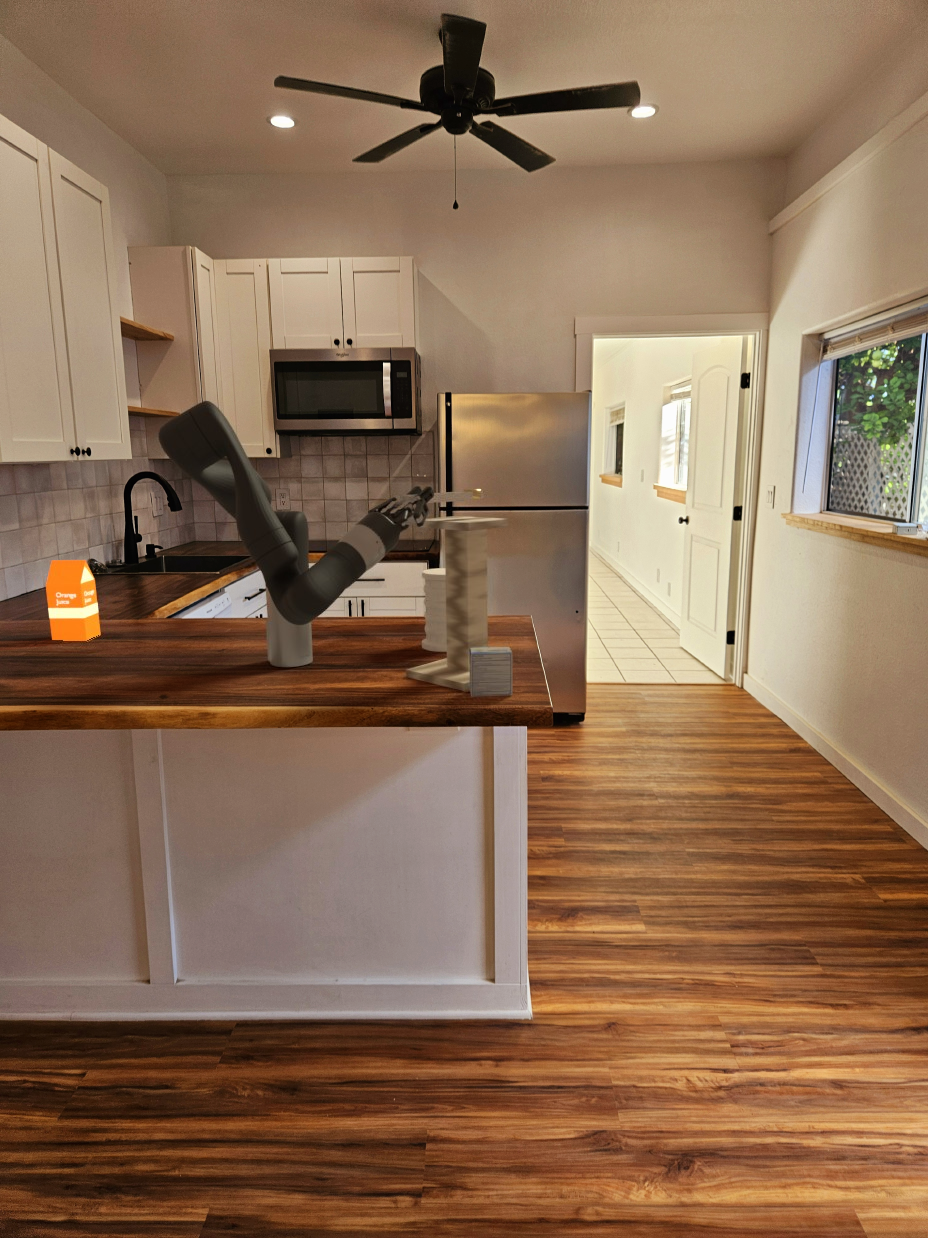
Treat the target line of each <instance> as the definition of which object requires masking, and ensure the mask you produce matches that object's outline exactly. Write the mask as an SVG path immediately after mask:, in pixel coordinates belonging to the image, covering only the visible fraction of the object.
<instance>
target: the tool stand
mask: <svg viewBox="0 0 928 1238" xmlns="http://www.w3.org/2000/svg"><path fill="white" fill-rule="evenodd" d="M509 523H510V519H509V518H503V517H501V518H499V517H480V516H468V515H467V516H465V515H464V516H463V515H462V516H461V515H452V516H451V515H450V516H441V517H432V518H426V520H425V522H424V525H423V526H421V527H418V526H417V524H415V526H416V527H415V528H420V529H436V530H437V529H438V530H444V553H445V554H444V555H445V557H444V559H445V560H444V561H445V565H444V566H445V567H444V568H445V572H446V634H447V652H446V657H445V658H443V659H439V660H436V661H431V662H428V663H425V664H421V665H418V666H413V667H410V668H407V669H405V677H406V678H410V679H414V680H418V681H423V682H426V683H429V684H433V685H434V684H435V685H438V686H442V687H446V688H451V689H454V690H458V691H459V690H460V691H463V692H466V691H469V690H470V668H469V649H470V648H480V647H489V646H488V641H489V640H488V636H489V635H488V633H489V632H488V530H489V529H497V528H505V527H506V528H507V527H509V525H510V524H509Z"/></svg>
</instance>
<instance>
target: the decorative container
mask: <svg viewBox="0 0 928 1238" xmlns="http://www.w3.org/2000/svg"><path fill="white" fill-rule="evenodd" d="M421 578H422V579H424V585H423V591H424V594H425V596H424V597H425V598H424V600H423V605H424V606H425V611H424V615H423V616H424V619H425V625H424V632H425V635H426V636H425V638H423V639H422V640H421V648H422V649H424V650H426V651H429V652H438V653H439V652H440V653H447V634H446V572H445V567H440V568H437V567H436V568H428V569H425V570H421Z"/></svg>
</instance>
